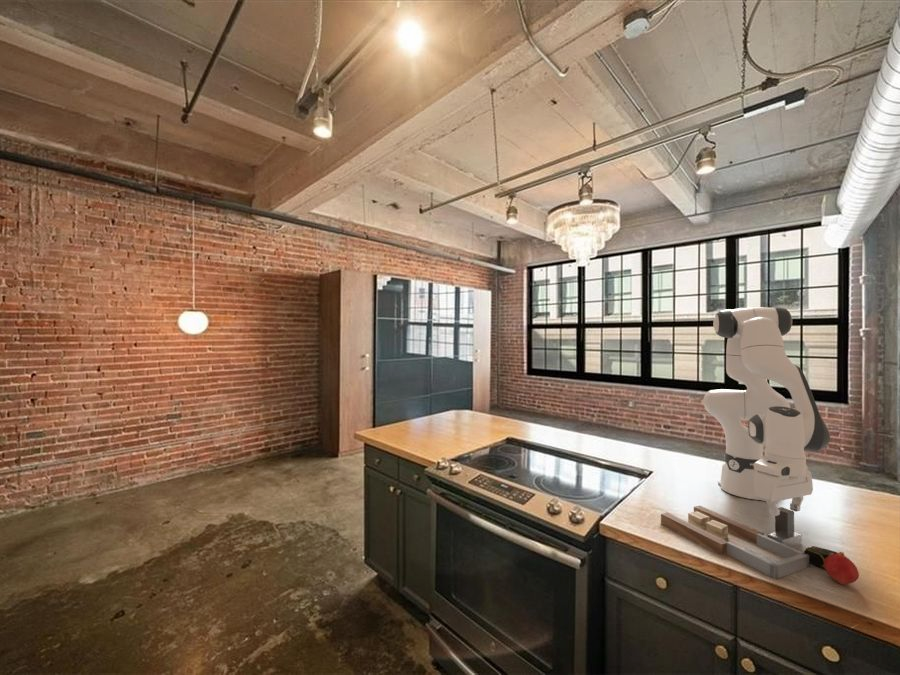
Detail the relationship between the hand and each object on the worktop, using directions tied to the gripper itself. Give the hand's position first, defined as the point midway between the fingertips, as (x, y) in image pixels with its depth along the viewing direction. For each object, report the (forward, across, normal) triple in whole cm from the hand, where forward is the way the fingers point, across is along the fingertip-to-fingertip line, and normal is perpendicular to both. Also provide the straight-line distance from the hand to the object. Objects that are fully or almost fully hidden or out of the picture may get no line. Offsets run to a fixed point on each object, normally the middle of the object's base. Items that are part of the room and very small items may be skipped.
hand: (784, 512), depth 106 cm
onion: (+10, +6, +15) cm, 19 cm away
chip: (+10, +13, -10) cm, 19 cm away
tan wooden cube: (+10, +12, -16) cm, 23 cm away
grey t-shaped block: (+10, -1, 0) cm, 10 cm away
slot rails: (+10, +12, -13) cm, 20 cm away
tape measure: (+10, -2, +11) cm, 15 cm away
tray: (+10, +12, +2) cm, 16 cm away
